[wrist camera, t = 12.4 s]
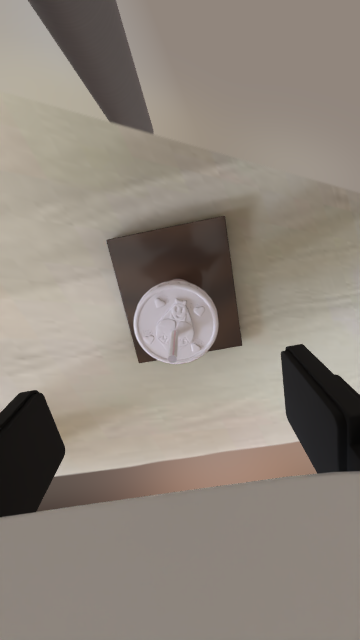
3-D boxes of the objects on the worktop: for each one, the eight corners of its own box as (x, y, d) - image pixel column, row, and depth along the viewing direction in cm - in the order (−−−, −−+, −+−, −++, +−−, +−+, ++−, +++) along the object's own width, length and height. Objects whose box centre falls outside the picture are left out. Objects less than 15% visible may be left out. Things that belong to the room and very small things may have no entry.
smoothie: (143, 318, 30) (113, 388, 17) (153, 260, 28) (127, 287, 15) (201, 329, 31) (215, 405, 17) (214, 272, 29) (241, 309, 15)
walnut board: (109, 239, 29) (106, 239, 28) (222, 216, 28) (224, 215, 27) (140, 357, 33) (138, 363, 32) (239, 340, 33) (242, 345, 31)
